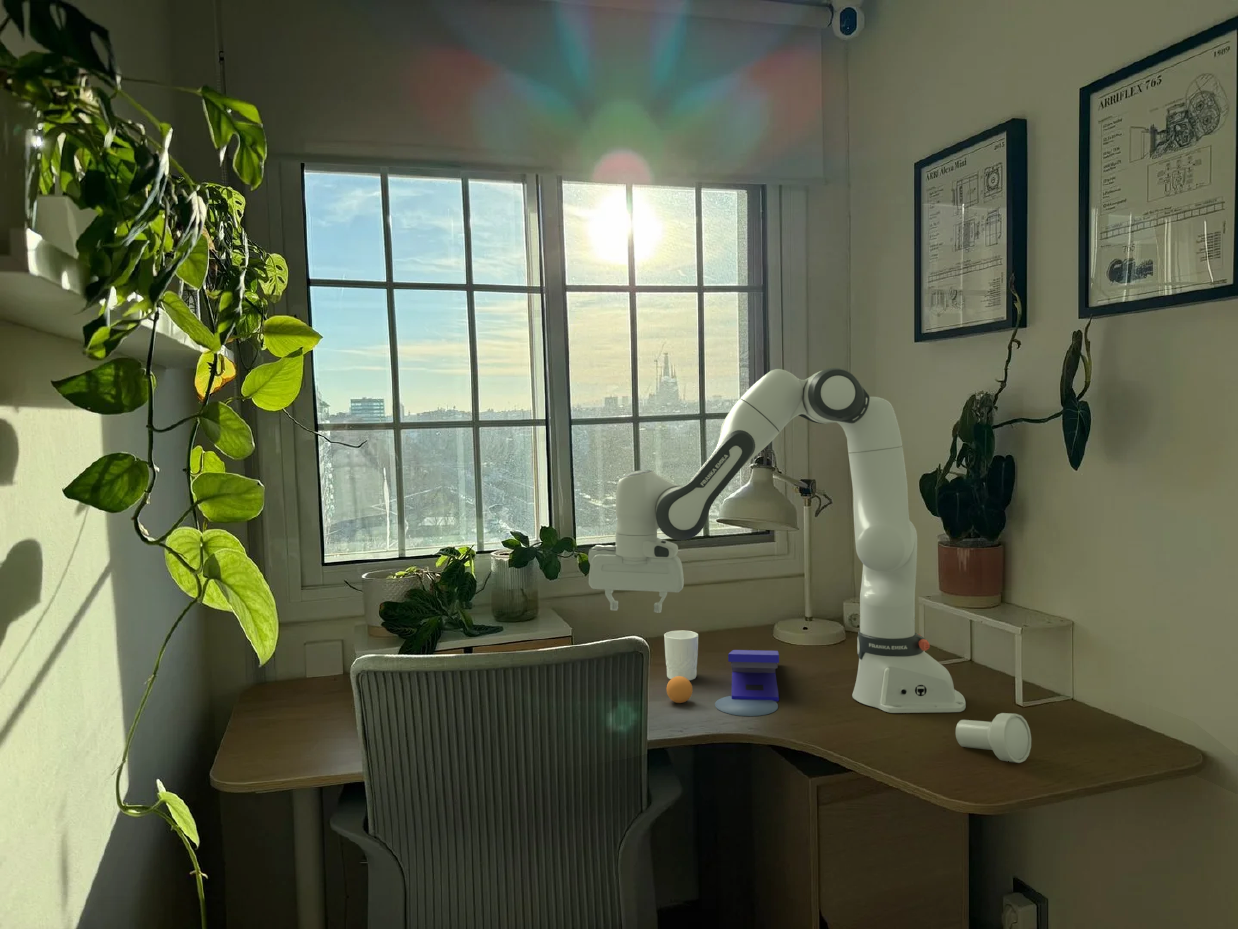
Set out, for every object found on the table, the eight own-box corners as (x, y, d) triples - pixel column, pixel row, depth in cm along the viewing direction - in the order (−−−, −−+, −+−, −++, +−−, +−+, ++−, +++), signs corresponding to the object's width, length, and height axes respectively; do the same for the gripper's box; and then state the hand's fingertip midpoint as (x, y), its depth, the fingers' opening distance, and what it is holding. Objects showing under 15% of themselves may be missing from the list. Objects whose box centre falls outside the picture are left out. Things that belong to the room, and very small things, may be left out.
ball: (694, 698, 186) (693, 673, 186) (690, 707, 181) (690, 681, 180) (668, 697, 187) (668, 672, 187) (664, 706, 182) (664, 680, 181)
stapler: (728, 701, 185) (728, 656, 184) (729, 664, 213) (729, 625, 212) (783, 703, 183) (783, 657, 183) (777, 665, 211) (777, 625, 211)
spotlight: (1009, 764, 146) (1005, 714, 147) (950, 757, 155) (947, 710, 156) (1036, 762, 150) (1032, 713, 152) (977, 755, 159) (974, 710, 161)
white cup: (698, 672, 205) (698, 630, 205) (698, 682, 198) (698, 639, 197) (665, 672, 206) (664, 630, 206) (663, 682, 198) (663, 638, 198)
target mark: (778, 697, 186) (778, 696, 186) (777, 718, 173) (777, 717, 173) (718, 694, 189) (718, 693, 189) (711, 714, 176) (711, 713, 176)
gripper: (585, 547, 183) (585, 611, 184) (681, 550, 179) (681, 616, 180) (591, 542, 189) (591, 605, 190) (685, 545, 186) (684, 609, 186)
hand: (635, 610), depth 185 cm, fingers open, 8 cm apart
